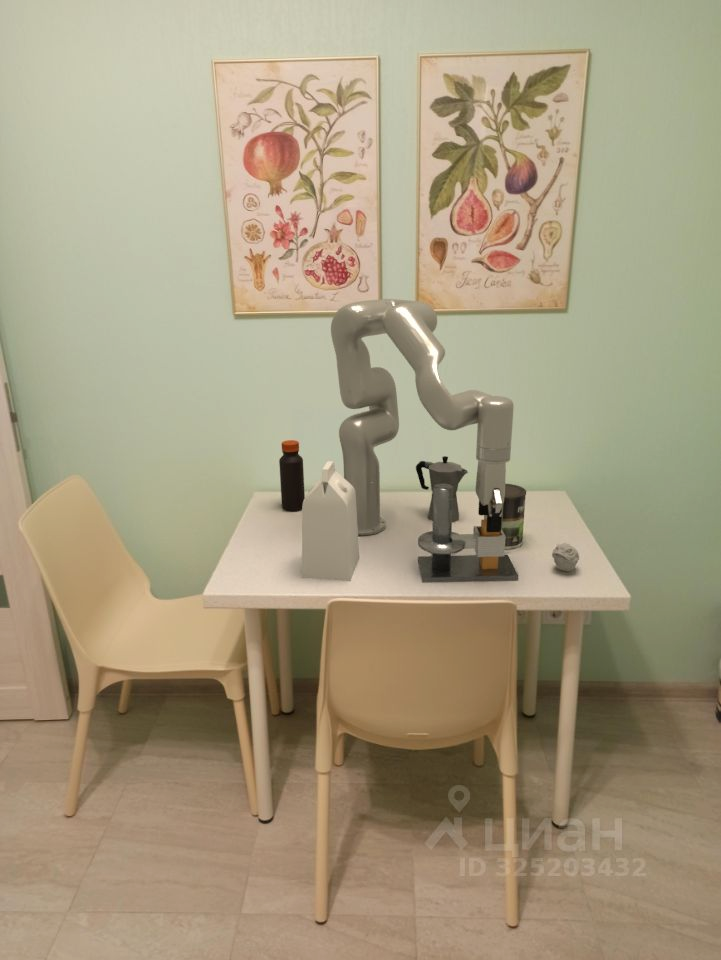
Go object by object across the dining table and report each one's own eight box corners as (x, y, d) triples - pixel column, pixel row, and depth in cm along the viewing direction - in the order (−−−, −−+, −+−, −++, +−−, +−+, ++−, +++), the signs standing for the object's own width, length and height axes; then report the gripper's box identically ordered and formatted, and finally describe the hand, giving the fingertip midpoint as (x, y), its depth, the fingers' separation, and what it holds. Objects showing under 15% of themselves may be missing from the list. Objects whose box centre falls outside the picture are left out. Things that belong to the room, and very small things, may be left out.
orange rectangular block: (482, 568, 159) (484, 525, 156) (479, 562, 163) (481, 519, 159) (497, 568, 159) (500, 525, 156) (494, 561, 163) (496, 519, 159)
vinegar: (295, 513, 196) (292, 447, 189) (277, 509, 199) (273, 443, 193) (309, 506, 201) (306, 441, 195) (291, 502, 205) (288, 438, 198)
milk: (314, 555, 170) (309, 456, 161) (359, 558, 168) (357, 458, 160) (301, 577, 159) (296, 472, 150) (350, 581, 157) (347, 474, 148)
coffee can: (525, 535, 179) (528, 485, 175) (519, 551, 170) (523, 499, 165) (486, 530, 183) (488, 481, 178) (478, 546, 174) (481, 494, 169)
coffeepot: (471, 516, 192) (474, 455, 186) (458, 527, 185) (460, 464, 179) (422, 506, 200) (423, 447, 194) (408, 517, 192) (408, 456, 186)
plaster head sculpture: (544, 571, 160) (547, 544, 158) (560, 561, 165) (562, 535, 163) (568, 579, 156) (571, 552, 154) (583, 569, 161) (586, 542, 158)
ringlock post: (420, 582, 156) (421, 496, 149) (415, 561, 166) (416, 479, 159) (518, 580, 156) (524, 494, 149) (507, 558, 167) (512, 477, 159)
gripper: (469, 441, 160) (466, 509, 165) (483, 465, 143) (479, 539, 149) (501, 441, 160) (497, 508, 166) (519, 464, 143) (514, 538, 149)
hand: (489, 523), depth 157 cm, fingers open, 9 cm apart
